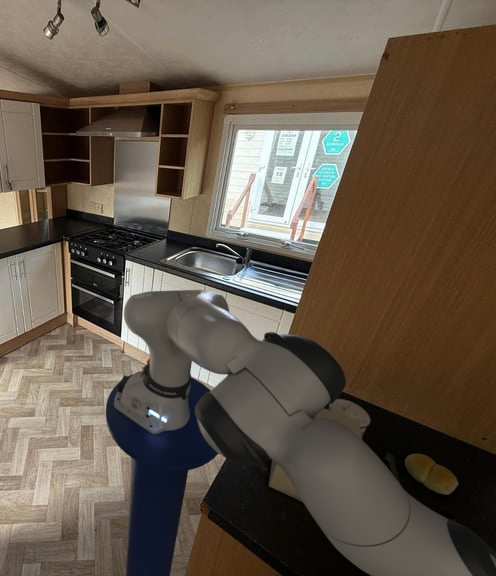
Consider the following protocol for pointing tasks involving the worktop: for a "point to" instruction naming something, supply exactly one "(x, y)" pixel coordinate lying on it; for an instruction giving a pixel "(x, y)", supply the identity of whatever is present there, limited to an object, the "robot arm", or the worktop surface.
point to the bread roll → (431, 474)
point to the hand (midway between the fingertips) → (444, 537)
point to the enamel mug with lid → (351, 412)
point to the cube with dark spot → (277, 473)
